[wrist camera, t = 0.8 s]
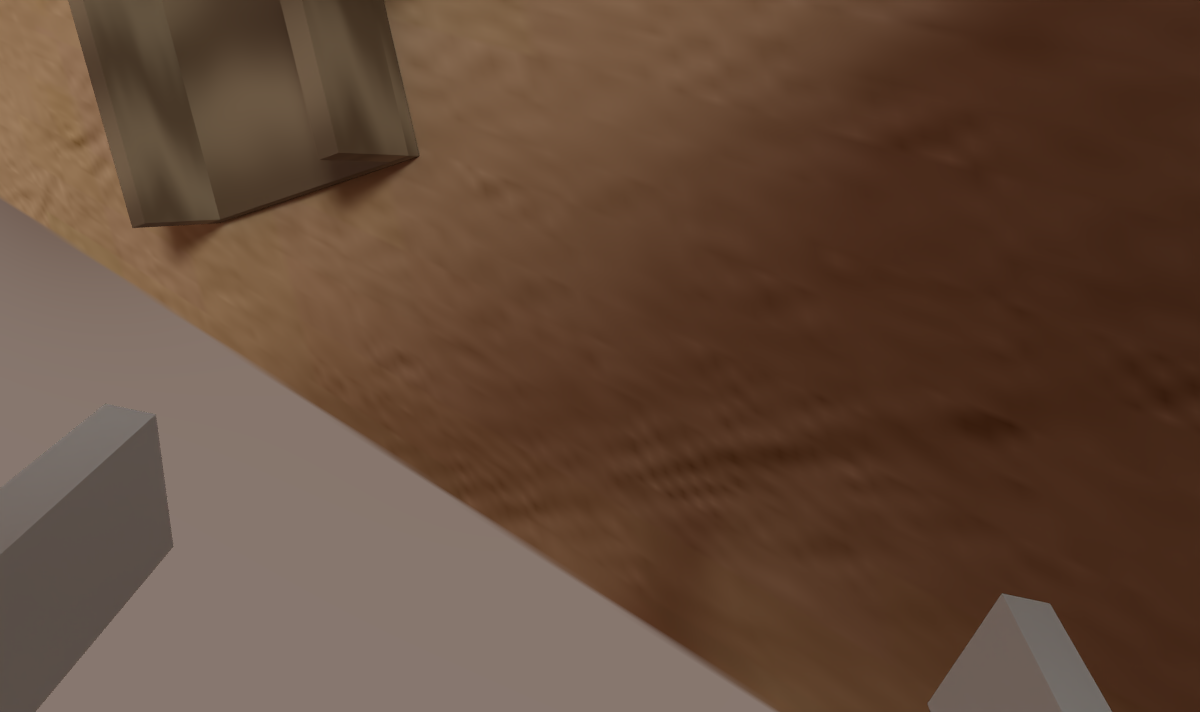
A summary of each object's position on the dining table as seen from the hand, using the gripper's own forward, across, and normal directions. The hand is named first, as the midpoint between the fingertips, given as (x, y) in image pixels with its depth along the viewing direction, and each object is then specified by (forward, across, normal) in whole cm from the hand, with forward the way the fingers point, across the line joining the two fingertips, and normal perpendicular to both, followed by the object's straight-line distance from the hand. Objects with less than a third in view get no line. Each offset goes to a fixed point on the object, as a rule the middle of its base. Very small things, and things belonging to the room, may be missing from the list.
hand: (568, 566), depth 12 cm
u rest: (+24, -16, +2) cm, 29 cm away
